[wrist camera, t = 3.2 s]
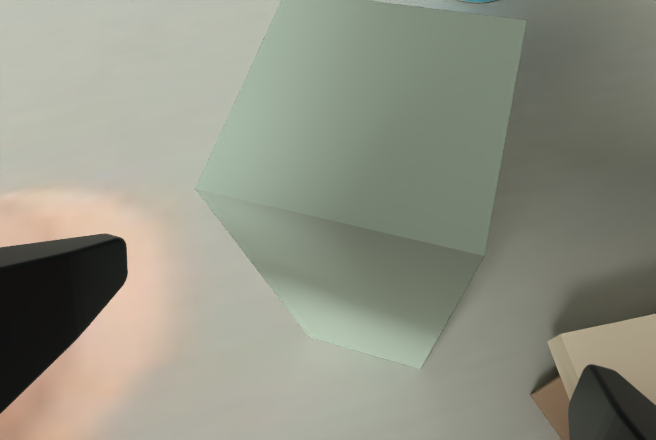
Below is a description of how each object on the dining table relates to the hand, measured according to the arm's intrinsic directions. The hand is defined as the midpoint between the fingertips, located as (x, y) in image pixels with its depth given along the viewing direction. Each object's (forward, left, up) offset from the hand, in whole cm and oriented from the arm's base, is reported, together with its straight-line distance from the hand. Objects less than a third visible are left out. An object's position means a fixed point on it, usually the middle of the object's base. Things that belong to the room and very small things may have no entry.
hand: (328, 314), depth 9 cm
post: (+2, -2, -10) cm, 11 cm away
